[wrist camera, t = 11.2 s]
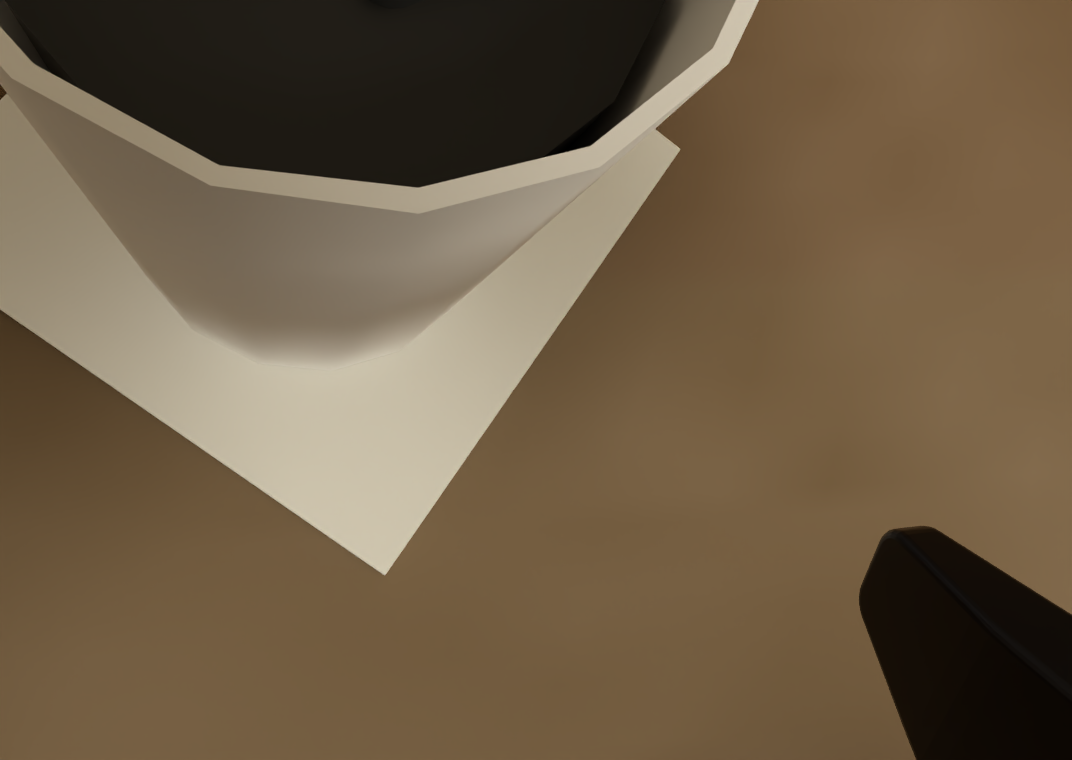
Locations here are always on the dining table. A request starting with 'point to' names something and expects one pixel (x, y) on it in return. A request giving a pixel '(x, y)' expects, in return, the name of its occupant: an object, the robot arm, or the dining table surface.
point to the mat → (299, 393)
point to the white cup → (344, 143)
